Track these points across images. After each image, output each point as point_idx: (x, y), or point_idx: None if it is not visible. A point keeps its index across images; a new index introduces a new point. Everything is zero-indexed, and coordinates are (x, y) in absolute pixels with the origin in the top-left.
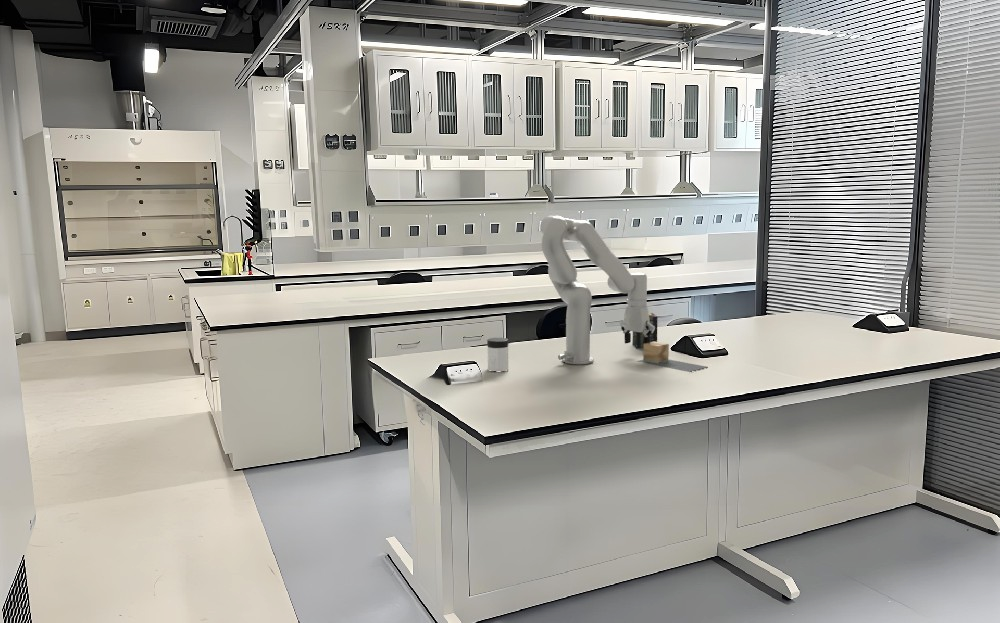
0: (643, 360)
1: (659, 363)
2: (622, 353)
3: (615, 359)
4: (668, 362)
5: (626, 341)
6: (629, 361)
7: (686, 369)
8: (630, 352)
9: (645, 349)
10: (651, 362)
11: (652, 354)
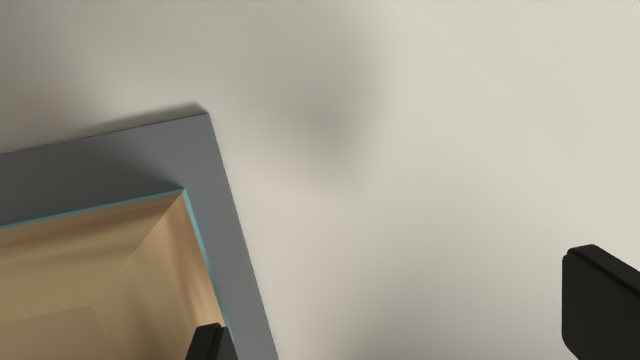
0: (183, 190)
1: None
2: None
3: (450, 3)
4: None
5: (584, 274)
6: (281, 74)
7: None
8: None
9: (98, 258)
10: (79, 209)
11: (4, 256)
